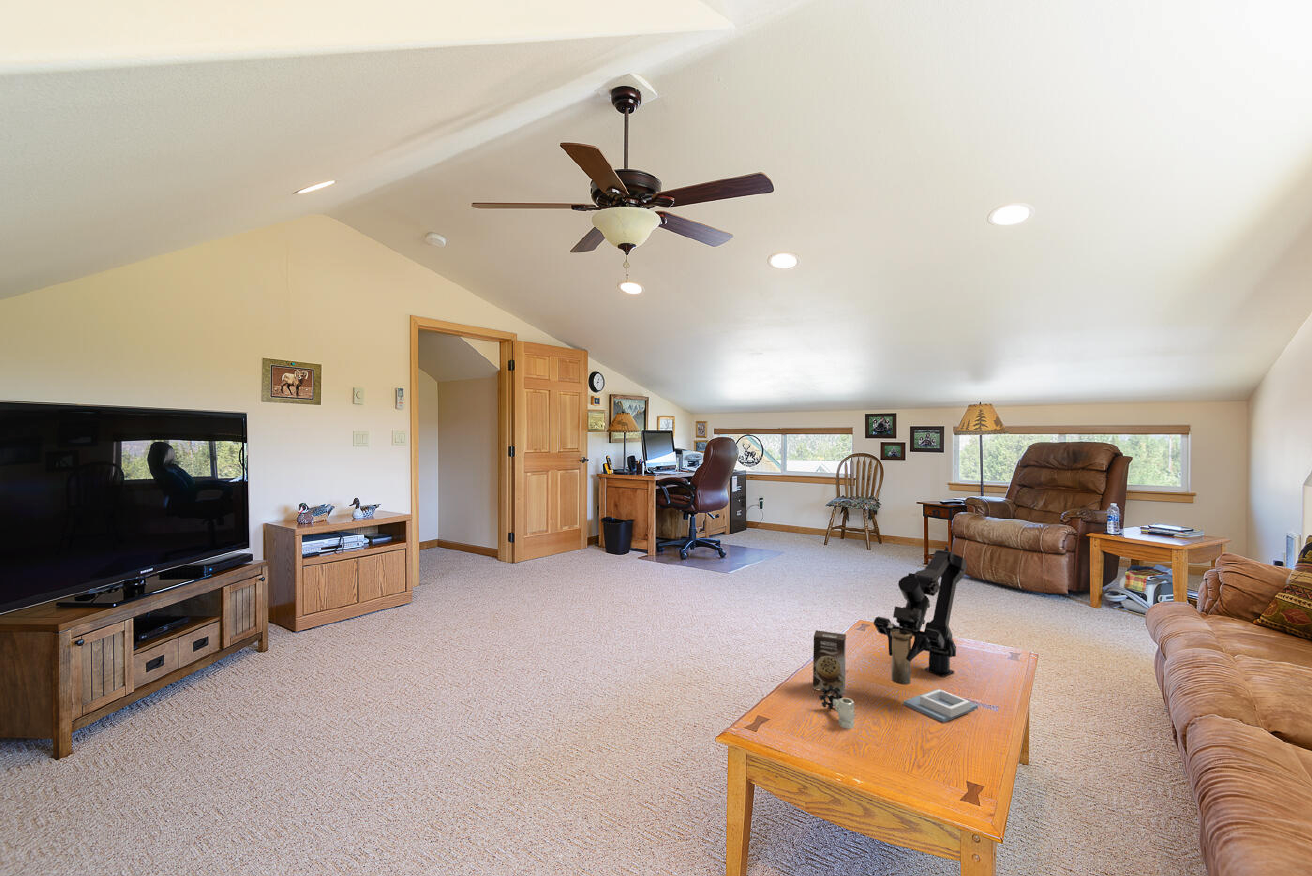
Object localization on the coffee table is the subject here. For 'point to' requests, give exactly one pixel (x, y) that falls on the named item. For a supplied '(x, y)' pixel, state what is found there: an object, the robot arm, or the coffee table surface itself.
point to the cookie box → (829, 660)
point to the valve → (839, 706)
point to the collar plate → (940, 705)
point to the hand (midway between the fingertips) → (899, 657)
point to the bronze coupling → (901, 656)
